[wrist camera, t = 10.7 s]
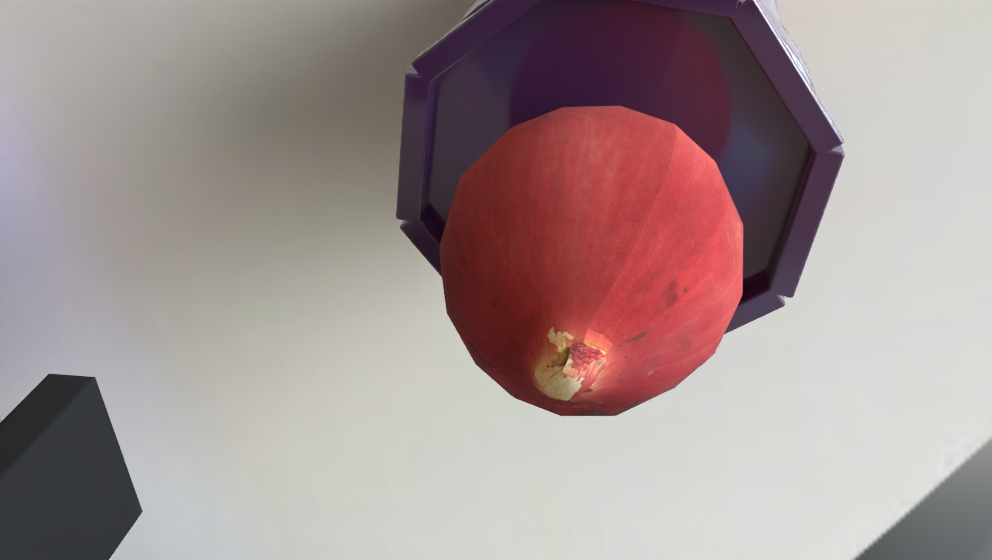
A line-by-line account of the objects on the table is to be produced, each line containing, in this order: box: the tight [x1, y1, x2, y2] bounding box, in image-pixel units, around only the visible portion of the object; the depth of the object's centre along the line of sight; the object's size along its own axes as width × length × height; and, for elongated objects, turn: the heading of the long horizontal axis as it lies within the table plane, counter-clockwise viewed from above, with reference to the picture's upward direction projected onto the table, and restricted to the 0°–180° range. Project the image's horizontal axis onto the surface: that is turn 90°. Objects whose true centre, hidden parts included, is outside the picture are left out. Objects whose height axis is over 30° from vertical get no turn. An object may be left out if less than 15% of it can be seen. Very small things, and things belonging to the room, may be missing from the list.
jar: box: [396, 0, 845, 334], centre depth 25 cm, size 10×10×13 cm
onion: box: [439, 106, 743, 416], centre depth 17 cm, size 6×6×8 cm
